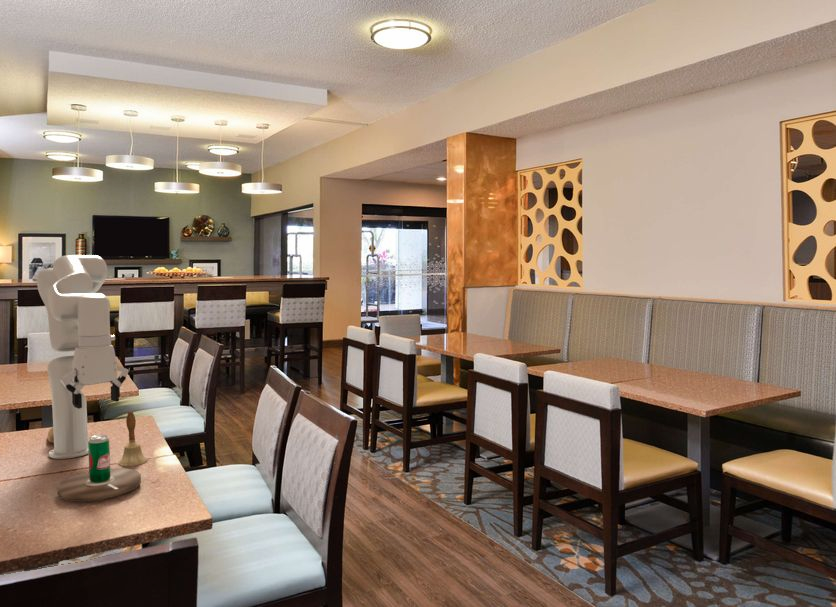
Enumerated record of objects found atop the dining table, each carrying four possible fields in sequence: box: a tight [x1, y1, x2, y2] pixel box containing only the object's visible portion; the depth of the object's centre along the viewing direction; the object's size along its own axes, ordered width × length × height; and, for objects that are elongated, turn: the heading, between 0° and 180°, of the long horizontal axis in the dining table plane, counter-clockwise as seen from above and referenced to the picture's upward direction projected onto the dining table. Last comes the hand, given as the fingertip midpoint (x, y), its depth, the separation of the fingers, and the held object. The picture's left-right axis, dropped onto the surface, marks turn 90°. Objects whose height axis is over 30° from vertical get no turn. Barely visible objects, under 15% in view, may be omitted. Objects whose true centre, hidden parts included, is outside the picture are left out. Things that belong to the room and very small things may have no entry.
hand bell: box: [117, 410, 148, 467], centre depth 186 cm, size 8×8×16 cm
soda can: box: [87, 434, 111, 483], centre depth 163 cm, size 5×5×12 cm
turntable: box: [57, 467, 142, 502], centre depth 163 cm, size 20×20×2 cm
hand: (96, 404), depth 163 cm, fingers open, 9 cm apart
